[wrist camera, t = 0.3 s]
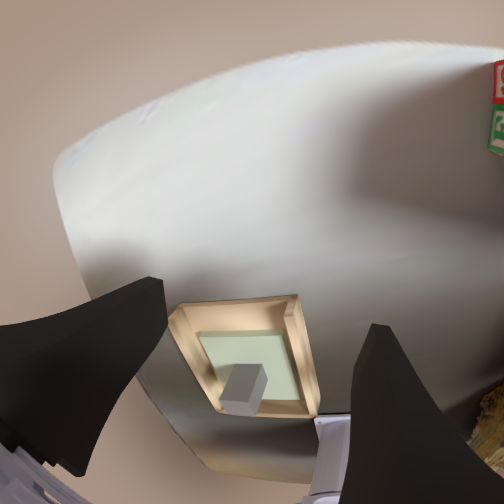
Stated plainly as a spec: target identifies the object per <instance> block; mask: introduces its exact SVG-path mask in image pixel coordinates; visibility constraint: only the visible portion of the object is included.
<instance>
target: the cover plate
mask: <svg viewBox="0 0 504 504" xmlns="http://www.w3.org/2000/svg"><path fill="white" fill-rule="evenodd" d="M199 339H200V341H201V343H202V345H203V347H204V349H205V351H206V353H207V355H208V357H209V359H210V361H211V363H212V365H213V367H214V369H215V371H216V373H217V375H218V376H219V378H220V380H221V382H222V384H223V386H224V389H223V392H222V394H221V396H220V398H219V401H220V403H221V404H222V406H223V408H224V409H225V411H226V413H227V414H231V415H241V416H253V417H256V414H257V411H258V408H259V405H260V402H261V399H274V400H300V399H301V394H302V392H301V389H300V385H299V381H298V378H297V374H296V371H295V367H294V363H293V360H292V356H291V352H290V349H289V345H288V342H287V338H286V334H285V331H284V328H283V329H264V330H237V331H202V333H201V334H200V336H199Z"/></svg>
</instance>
